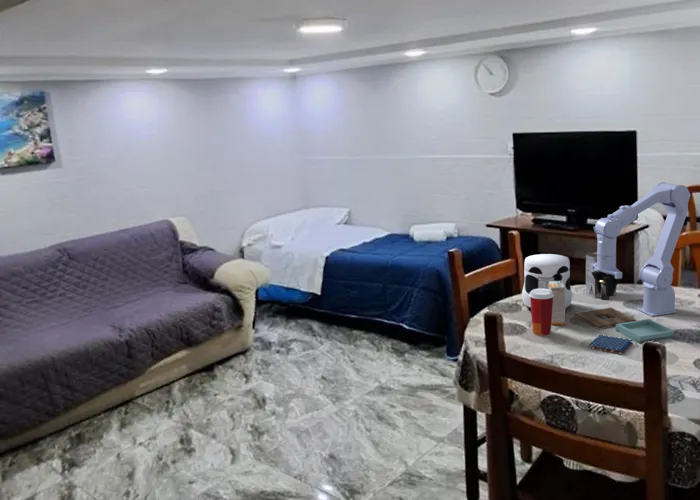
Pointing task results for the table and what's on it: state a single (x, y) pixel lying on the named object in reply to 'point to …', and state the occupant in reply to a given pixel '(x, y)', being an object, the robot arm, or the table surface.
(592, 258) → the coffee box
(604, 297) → the gunmetal pin
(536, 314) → the paper cup
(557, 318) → the supplement box
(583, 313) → the walnut socket
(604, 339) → the woven mat
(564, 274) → the milk container
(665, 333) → the teal tray
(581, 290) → the table surface
